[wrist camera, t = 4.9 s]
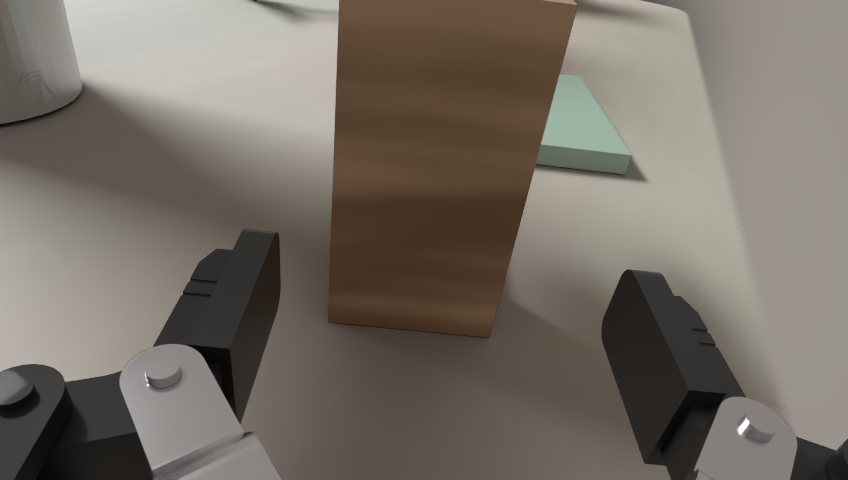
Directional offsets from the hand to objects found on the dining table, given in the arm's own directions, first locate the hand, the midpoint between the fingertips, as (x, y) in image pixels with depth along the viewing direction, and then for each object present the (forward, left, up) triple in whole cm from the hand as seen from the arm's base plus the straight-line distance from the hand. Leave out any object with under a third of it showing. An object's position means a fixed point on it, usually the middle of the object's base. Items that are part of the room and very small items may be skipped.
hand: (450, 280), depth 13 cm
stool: (-7, +6, -5) cm, 10 cm away
